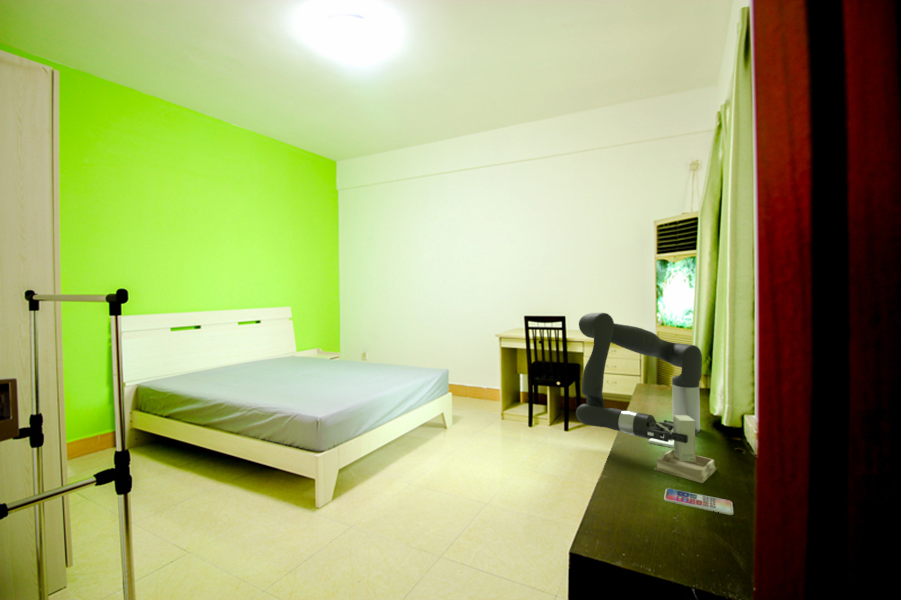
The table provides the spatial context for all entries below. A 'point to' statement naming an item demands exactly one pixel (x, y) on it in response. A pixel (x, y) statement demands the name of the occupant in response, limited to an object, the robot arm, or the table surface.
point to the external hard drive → (662, 442)
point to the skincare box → (687, 427)
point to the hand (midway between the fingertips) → (692, 436)
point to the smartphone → (699, 501)
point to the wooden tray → (686, 467)
